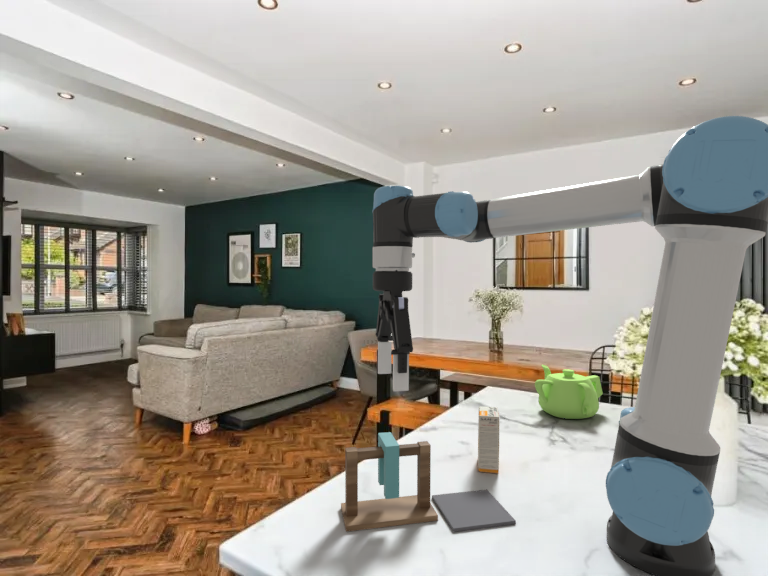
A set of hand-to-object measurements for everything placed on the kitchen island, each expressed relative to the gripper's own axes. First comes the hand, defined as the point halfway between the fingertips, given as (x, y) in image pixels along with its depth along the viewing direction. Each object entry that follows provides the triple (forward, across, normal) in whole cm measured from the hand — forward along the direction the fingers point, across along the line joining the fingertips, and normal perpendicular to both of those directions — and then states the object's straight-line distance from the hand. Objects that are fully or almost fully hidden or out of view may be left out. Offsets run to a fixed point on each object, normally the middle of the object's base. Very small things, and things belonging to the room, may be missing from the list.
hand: (392, 381), depth 85 cm
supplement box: (+25, +15, -27) cm, 40 cm away
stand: (+25, -1, +1) cm, 25 cm away
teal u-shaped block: (+20, -1, +1) cm, 20 cm away
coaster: (+25, -3, -15) cm, 29 cm away
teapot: (+25, +48, -70) cm, 88 cm away
